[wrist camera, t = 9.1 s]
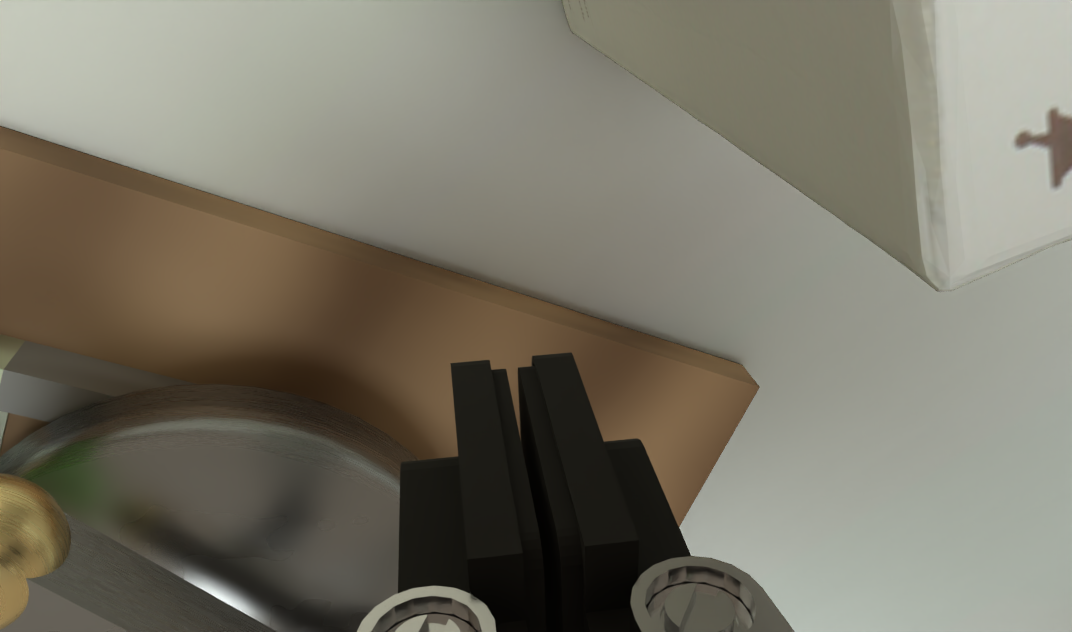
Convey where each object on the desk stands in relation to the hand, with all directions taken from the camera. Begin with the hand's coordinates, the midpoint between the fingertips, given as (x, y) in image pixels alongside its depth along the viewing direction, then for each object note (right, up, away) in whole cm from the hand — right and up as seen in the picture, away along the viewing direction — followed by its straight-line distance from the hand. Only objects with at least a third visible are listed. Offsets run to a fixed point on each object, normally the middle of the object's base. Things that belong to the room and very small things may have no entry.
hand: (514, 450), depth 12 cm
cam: (-7, -4, +9) cm, 12 cm away
